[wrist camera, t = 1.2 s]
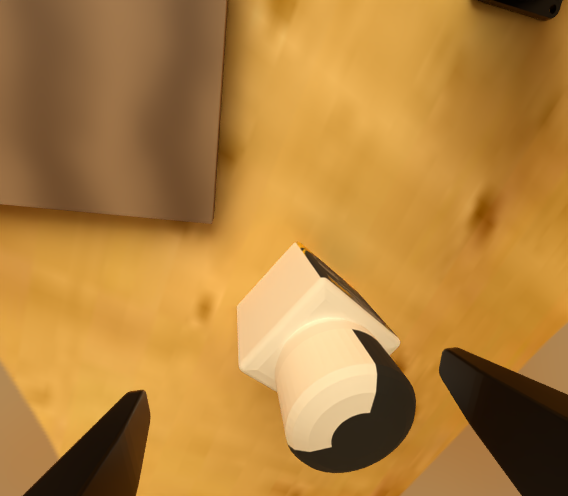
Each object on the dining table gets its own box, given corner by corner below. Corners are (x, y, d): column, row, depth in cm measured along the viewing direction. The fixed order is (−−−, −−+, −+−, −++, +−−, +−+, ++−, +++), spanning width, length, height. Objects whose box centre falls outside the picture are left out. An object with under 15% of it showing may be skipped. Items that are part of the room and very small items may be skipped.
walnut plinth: (233, -78, 15) (233, -111, 13) (213, 216, 20) (211, 223, 18) (-157, -198, 12) (-230, -264, 10) (-69, 189, 17) (-107, 194, 15)
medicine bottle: (356, 290, 24) (467, 413, 13) (299, 349, 25) (355, 513, 13) (295, 238, 21) (365, 333, 10) (234, 305, 22) (237, 461, 11)
